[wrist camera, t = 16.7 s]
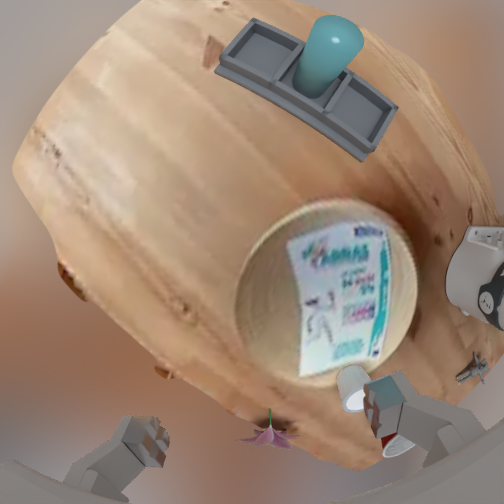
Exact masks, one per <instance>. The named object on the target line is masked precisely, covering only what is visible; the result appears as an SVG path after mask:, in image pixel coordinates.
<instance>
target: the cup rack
mask: <svg viewBox="0 0 504 504" xmlns="http://www.w3.org/2000/svg"><path fill="white" fill-rule="evenodd" d="M305 45H306V43H305V42H303V41H302V40H300V39H298V38H296V37H294V36H292V35H290V34H288V33H286V32H284V31H282V30H280V29H278V28H276V27H274V26H271V25H269V24H267V23H265V22H262V21H260V20H258V19H255V18H252V19H251V20H250V21H249V23H248V24H247V25H246V26H245V27H244V28H243V29H242V30H241V31H240V32H239V34H238V35H237V36H236V37H235V38H234V39H233V41H232V42H231V43H230V44H229V45H228V46H227V48H226V49H225V50H224V51H223V53H222V54H221V55H220V56H219V60H220V64H219V65H218V66H217V68H216V69H215V70H214V72H215V73H216V74H218V75H220V76H222V77H224V78H226V79H228V80H230V81H232V82H234V83H236V84H238V85H240V86H242V87H244V88H246V89H248V90H250V91H252V92H254V93H256V94H257V95H259V96H261V97H263V98H265V99H266V100H268V101H270V102H272V103H273V104H275V105H277V106H279V107H280V108H282V109H284V110H285V111H287V112H289V113H290V114H292V115H294V116H295V117H297V118H298V119H300V120H301V121H303V122H305V123H306V124H308V125H309V126H311V127H312V128H314V129H315V130H317V131H318V132H320V133H321V134H323V135H324V136H326V137H327V138H328V139H330V140H331V141H333V142H334V143H336V144H337V145H338V146H340V147H341V148H342V149H344V150H345V151H347V152H348V153H349V154H351V155H352V156H353V157H355V158H356V159H357V160H358V161H360V162H364V160H365V158H366V157H367V155H368V153H371V152H374V150H375V149H376V147H377V145H378V144H379V142H380V140H381V138H382V137H383V135H384V133H385V131H386V130H387V128H388V126H389V124H390V122H391V121H392V119H393V117H394V115H395V113H396V112H397V110H398V108H399V107H398V106H396V105H395V104H394V103H393V102H392V101H390V100H389V99H388V98H387V97H386V96H384V95H383V94H382V93H381V92H379V91H378V90H377V89H376V88H374V87H373V86H372V85H370V84H369V83H368V82H366V81H365V80H364V79H362V78H361V77H359V76H358V75H357V74H355V73H354V72H352V71H351V70H349V69H348V68H345V69H344V70H343V71H342V72H341V73H340V75H339V76H338V77H337V78H336V79H335V81H334V82H333V83H332V84H331V85H330V87H329V88H328V89H327V90H326V91H325V93H324V94H323V95H322V96H320V97H318V98H314V99H310V98H307V97H305V96H304V95H302V94H300V93H299V92H297V91H295V89H294V87H293V84H292V79H293V76H294V73H295V70H296V68H297V65H298V63H299V60H300V58H301V55H302V53H303V50H304V48H305Z"/></svg>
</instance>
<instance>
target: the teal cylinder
mask: <svg viewBox="0 0 504 504" xmlns="http://www.w3.org/2000/svg"><path fill="white" fill-rule="evenodd" d="M363 45H364V38H363V35H362V33H361V31H360V30H359V28H358V27H357V26H356V25H355V24H353V23H352V22H351V21H349V20H347V19H345V18H342V17H340V16H335V15H327V16H322V17H320V18H319V19H317V20H316V21H315V23H314V25H313V28H312V30H311V33H310V35H309V38H308V40H307V43H306V45H305V48H304V50H303V53H302V55H301V58H300V60H299V63H298V65H297V68H296V70H295V73H294V76H293V79H292V84H293V87H294V89H295V91H297V92H299V93H300V94H302V95H304V96H305V97H307V98H310V99H314V98H318V97H320V96H322V95H323V94H324V93H325V91H326V90H327V89H328V88H329V87H330V85H331V84H332V83H333V82H334V81H335V79H336V78H337V77H338V76H339V75H340V73H341V72H342V71H343V70H344V69H345V68H346V66H347V65H348V64H349V63H350V62H351V60H352V59H353V58H354V57H355V56H356V55H357V54H358V52H359V51H360V50H361V49H362V47H363Z"/></svg>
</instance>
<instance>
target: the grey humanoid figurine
mask: <svg viewBox="0 0 504 504" xmlns="http://www.w3.org/2000/svg"><path fill="white" fill-rule="evenodd" d="M474 357H475V361H476V365H475V366H471V367H470V368H469V370H467V371H465V372H464V373H462V374H460V375H458V376H456V377H457V380H458V379H460V378H462V377H463V376H465V375H467V374H469V375H468V376H467V377H465V378H463V379H462V380H460V381H459V385H460V384H462V383H463V382H465V381H467V380H468V379H470V378H471V377H475V376H476V375H477V374H479V375H480V377H481V381H482V382H483V384H484V380H483V371H484V372H489V369H488V364H487V362H486V359H485V358H484V359H483V361H482V362H480V361H479V360H478V358H477V357H476V354H475V352H474Z"/></svg>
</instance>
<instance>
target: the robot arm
mask: <svg viewBox="0 0 504 504" xmlns="http://www.w3.org/2000/svg"><path fill="white" fill-rule="evenodd" d="M446 293H447V297H448V299H449V301H450V302H451V303H452V304H453V305H454V306H457V307H459V308H460V310H461V312H462V313H463V314H464V315H466V316H468V315H472V316H474V317H476V318H478V319H480V320H481V321H483V322H485V323H490V324H492V325H493V326H494V327H495V328H498V329H499V330H501V331H504V227H494V226H469V227H468V228H467V231H466V233H465V236H464V239H463V241H462V243H461V244H460V246H459V247H458V249H457V250H456V252H455V253H454V255H453V257H452V259H451V262H450V264H449V267H448V271H447V276H446ZM363 391H364V393H365V396H364V398H363V406H364V411H365V414H366V417H367V419H368V420H370V421H372V422H371V429H372V431H373V433H374V435H375V438H376V439H379V438H382V437H385V436H387V435H390V434H393V433H396V432H397V433H398V434H399V435H401V436H403V437H404V438H406V439H408V440H409V441H411V442H413V443H415V444H416V445H418V446H420V447H422V448H423V449H426V450H427V451H429V453H428V455H427V457H426V459H425V461H424V463H423V465H422V466H423V468H424V469H422V470H420V471H418V472H416V473H414V474H411V475H409V476H407V477H405V478H402V479H400V480H398V481H395V482H393V483H390V484H388V485H385V486H382V487H380V488H377V489H374V490H371V491H368V492H365V493H362V494H359V495H355V496H352V497H348V498H345V499H341V500H337V501H333V502H329V503H325V504H504V418H503V419H502V420H500V421H499V422H498V423H497V424H495V425H494V426H493V427H491V428H490V429H489V430H487V431H486V430H485V429H484V427H483V426H482V425H481V423H480V422H479V421H478V419H477V418H476V417H475V415H474V414H473V413H472V412H471V411H470V410H468V409H464V408H461V407H458V406H455V405H452V404H449V403H446V402H443V401H440V400H437V399H434V398H431V397H429V396H426V395H420V396H419V394H418V393H417V392H416V390H415V389H414V387H413V386H412V384H411V383H410V382H409V380H408V379H407V377H406V376H405V375H404V373H403V372H402V371H397V372H395V373H392V374H389V375H387V376H384V377H381V378H378V379H376V380H373V381H370V382H367V383H364V386H363ZM169 443H170V442H169V435H168V432H167V431H166V429H165V428H163V427H161V426H160V421H159V419H158V418H157V417H153V416H135V415H134V416H133V415H124V416H123V417H122V418H121V421H120V423H119V425H118V426H117V429H116V430H115V432H114V434H113V437H112V439H111V441H109V440H108V441H106V442H105V443H103V444H102V445H100V446H99V447H97V448H96V449H94V450H93V451H91V452H90V453H88V454H87V455H85V456H84V457H82V458H81V459H79V460H78V461H76V462H75V463H73V464H72V466H71V468H70V470H69V472H68V473H67V475H66V477H65V479H64V481H63V483H62V482H60V481H57V480H55V479H53V478H51V477H48V476H46V475H44V474H42V473H40V472H38V471H36V470H33V469H32V468H30V467H28V466H26V465H24V464H22V463H20V462H19V461H16V460H9V461H6V462H3V463H1V464H0V504H129V503H128V502H129V499H128V498H127V497H126V496H125V495H123V494H122V493H121V491H122V490H123V489H124V488H125V487H126V486H127V485H128V484H129V483H130V482H132V481H133V480H134V479H135V478H136V477H137V476H138V475H139V474H140V473H141V471H143V469H145V467H158V468H163V465H164V461H165V458H166V455H165V453H164V451H166V450H167V449H168V447H169Z"/></svg>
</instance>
